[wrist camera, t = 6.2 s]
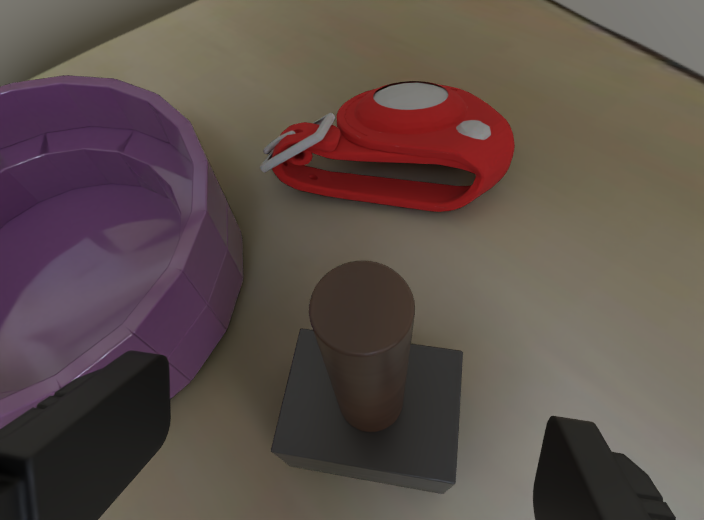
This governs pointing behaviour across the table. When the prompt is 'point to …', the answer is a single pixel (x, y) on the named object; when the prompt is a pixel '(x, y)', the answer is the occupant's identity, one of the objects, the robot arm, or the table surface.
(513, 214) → the table surface
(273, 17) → the table surface
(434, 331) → the table surface
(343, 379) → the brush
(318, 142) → the tracker holder
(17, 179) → the bowl
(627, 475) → the robot arm
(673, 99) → the table surface
